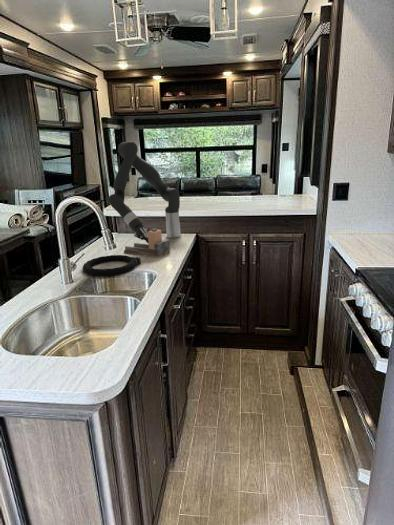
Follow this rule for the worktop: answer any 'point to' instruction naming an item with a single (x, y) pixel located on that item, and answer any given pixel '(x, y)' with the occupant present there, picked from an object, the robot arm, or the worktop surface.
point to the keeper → (154, 238)
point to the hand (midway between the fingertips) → (151, 243)
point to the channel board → (144, 249)
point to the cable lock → (113, 271)
